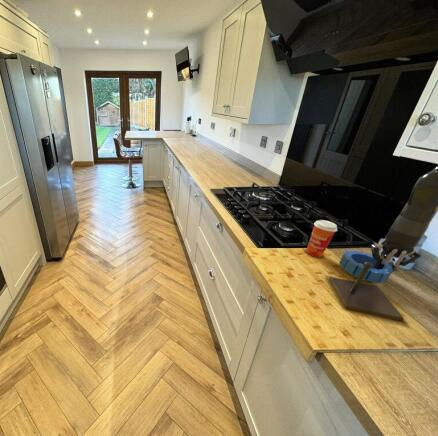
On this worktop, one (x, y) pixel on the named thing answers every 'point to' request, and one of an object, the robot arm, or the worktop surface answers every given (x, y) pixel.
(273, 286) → the worktop surface
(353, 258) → the blue notched ring
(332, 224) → the paper cup
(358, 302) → the brown peg stand
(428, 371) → the worktop surface
